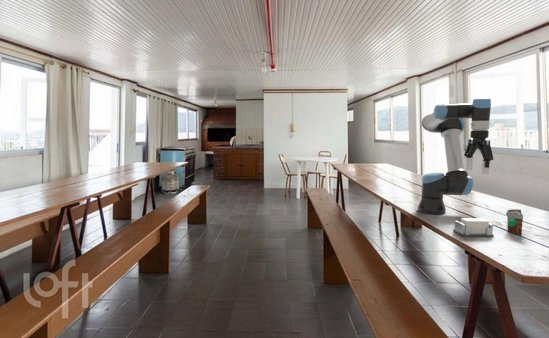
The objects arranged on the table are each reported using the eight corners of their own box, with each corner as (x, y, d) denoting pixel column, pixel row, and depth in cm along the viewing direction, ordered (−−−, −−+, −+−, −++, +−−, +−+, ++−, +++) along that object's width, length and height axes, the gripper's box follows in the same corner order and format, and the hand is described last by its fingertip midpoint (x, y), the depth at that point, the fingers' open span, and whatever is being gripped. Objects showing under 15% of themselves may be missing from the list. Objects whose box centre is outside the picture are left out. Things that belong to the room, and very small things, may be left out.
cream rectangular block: (465, 233, 146) (466, 221, 145) (460, 230, 151) (461, 218, 150) (488, 233, 145) (489, 221, 144) (482, 230, 150) (482, 218, 149)
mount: (463, 237, 144) (464, 225, 143) (453, 230, 153) (453, 220, 152) (493, 236, 144) (494, 225, 143) (481, 230, 153) (482, 219, 152)
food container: (504, 227, 158) (505, 207, 157) (519, 229, 154) (521, 209, 153) (505, 233, 148) (506, 213, 146) (521, 236, 144) (523, 215, 143)
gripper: (458, 129, 167) (456, 168, 170) (487, 130, 143) (484, 176, 146) (472, 129, 167) (470, 168, 170) (504, 130, 142) (501, 176, 145)
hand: (476, 172), depth 158 cm, fingers open, 13 cm apart
